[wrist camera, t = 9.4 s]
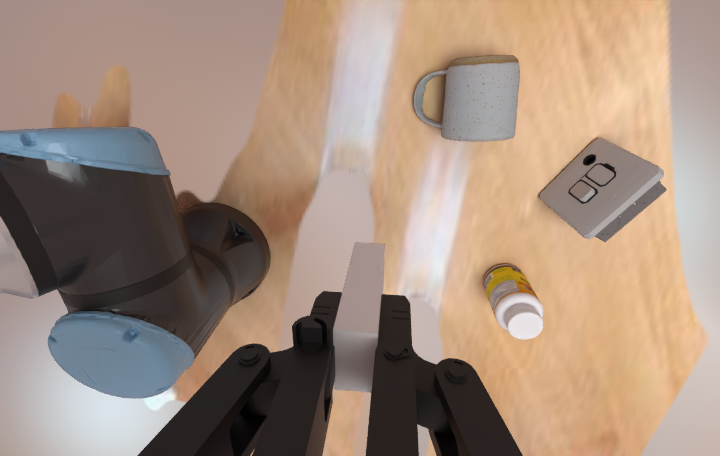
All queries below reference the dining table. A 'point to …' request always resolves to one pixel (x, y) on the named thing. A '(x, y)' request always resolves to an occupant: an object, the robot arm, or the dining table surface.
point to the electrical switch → (603, 189)
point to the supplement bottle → (513, 301)
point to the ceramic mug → (476, 98)
